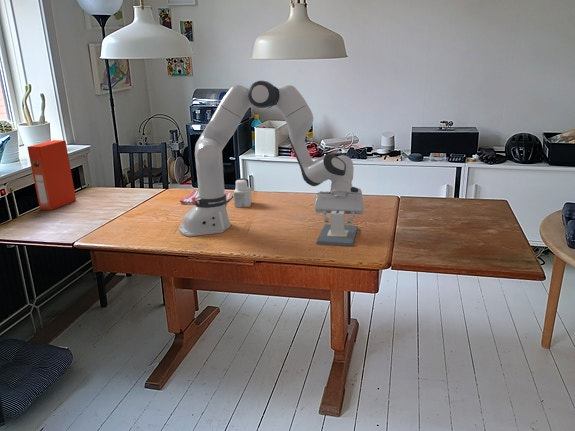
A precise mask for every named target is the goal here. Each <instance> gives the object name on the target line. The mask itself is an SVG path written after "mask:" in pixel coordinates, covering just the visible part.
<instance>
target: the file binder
mask: <svg viewBox="0 0 575 431" xmlns="http://www.w3.org/2000/svg"><path fill="white" fill-rule="evenodd" d="M26 148H27V152H28V153H27V154H28V157H29V162H30V167H31V171H32V177H33V181H34V187H35V192H36V195H37V196H36V197H37V201H38V206H39V209H40V210H45V211H53V210H55V209H58V208H61V207H63V206H65V205H68V204H71V203H72V202H75V201H77V196H76V190H75V186H74V185H75V184H74V181H73V174H72V169H71V163H70V157H69V154H68V153H69V152H68V148H67V142H66V140H64V139H63V140H60V139H58V140H57V139H52V140H49V141H45V142H42V143H37V144H33V145H29V146H27V147H26Z"/></svg>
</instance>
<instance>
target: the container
mask: <svg viewBox="0 0 575 431" xmlns="http://www.w3.org/2000/svg"><path fill="white" fill-rule="evenodd" d="M234 183H235V184H234V185H235V189H234V191H233V201H234V204H233V205H234V207H235V208H247V207H248V208H249V207H251V205H252V201H253V200H252V188H251V187H250V181H249V179H248V178H244V177H243V178H242V177H241V178H238V179H236V180H235V181H234Z"/></svg>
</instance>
